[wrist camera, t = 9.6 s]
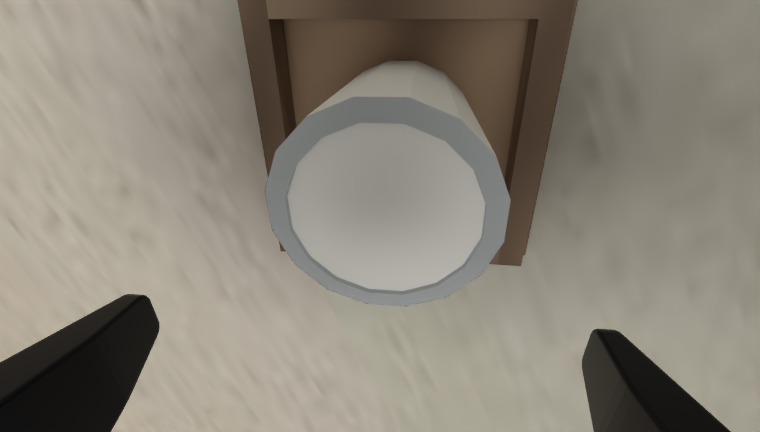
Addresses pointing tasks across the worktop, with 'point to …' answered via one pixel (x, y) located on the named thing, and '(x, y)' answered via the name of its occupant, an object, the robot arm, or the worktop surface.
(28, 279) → the worktop surface
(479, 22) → the walnut holder
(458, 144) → the white cup
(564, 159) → the worktop surface
